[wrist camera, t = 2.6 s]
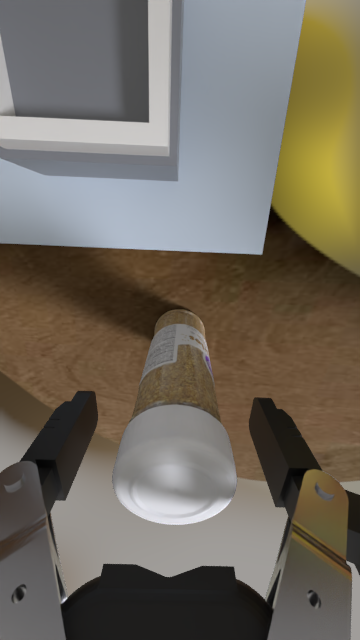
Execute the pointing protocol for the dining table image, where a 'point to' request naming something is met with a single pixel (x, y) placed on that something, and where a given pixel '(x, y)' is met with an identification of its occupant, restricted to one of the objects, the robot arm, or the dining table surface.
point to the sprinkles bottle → (176, 432)
